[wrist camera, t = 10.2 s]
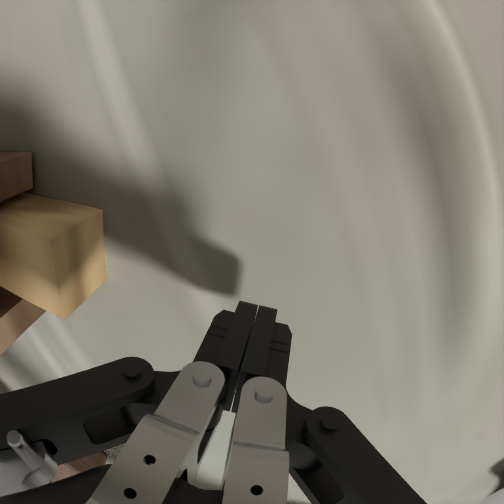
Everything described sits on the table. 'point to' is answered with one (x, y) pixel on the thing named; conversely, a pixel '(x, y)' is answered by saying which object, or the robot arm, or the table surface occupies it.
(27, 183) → the socket block
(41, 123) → the table surface
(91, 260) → the tan wooden block
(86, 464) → the decorative block
